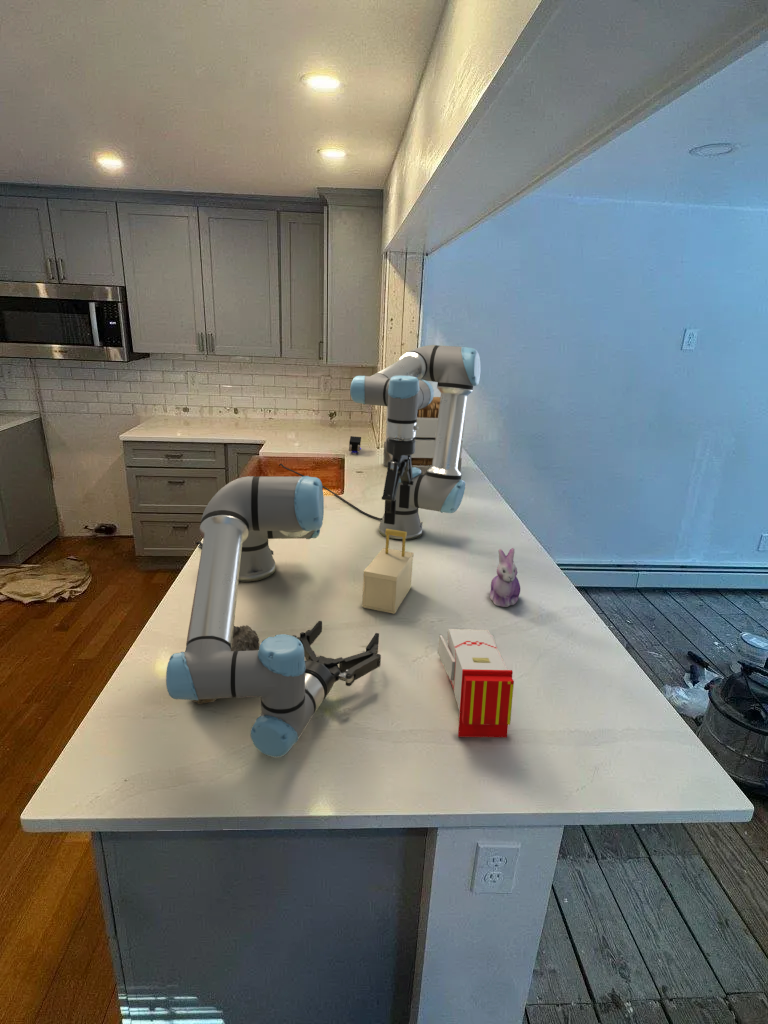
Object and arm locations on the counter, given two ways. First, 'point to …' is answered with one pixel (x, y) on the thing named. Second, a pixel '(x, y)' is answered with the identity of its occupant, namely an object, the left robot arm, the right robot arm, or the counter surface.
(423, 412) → the transformer
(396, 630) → the counter surface
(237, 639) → the fossil
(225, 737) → the counter surface
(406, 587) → the chest
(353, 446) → the figurine character
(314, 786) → the counter surface
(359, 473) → the counter surface
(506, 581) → the figurine
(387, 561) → the lid
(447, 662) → the white and red box
